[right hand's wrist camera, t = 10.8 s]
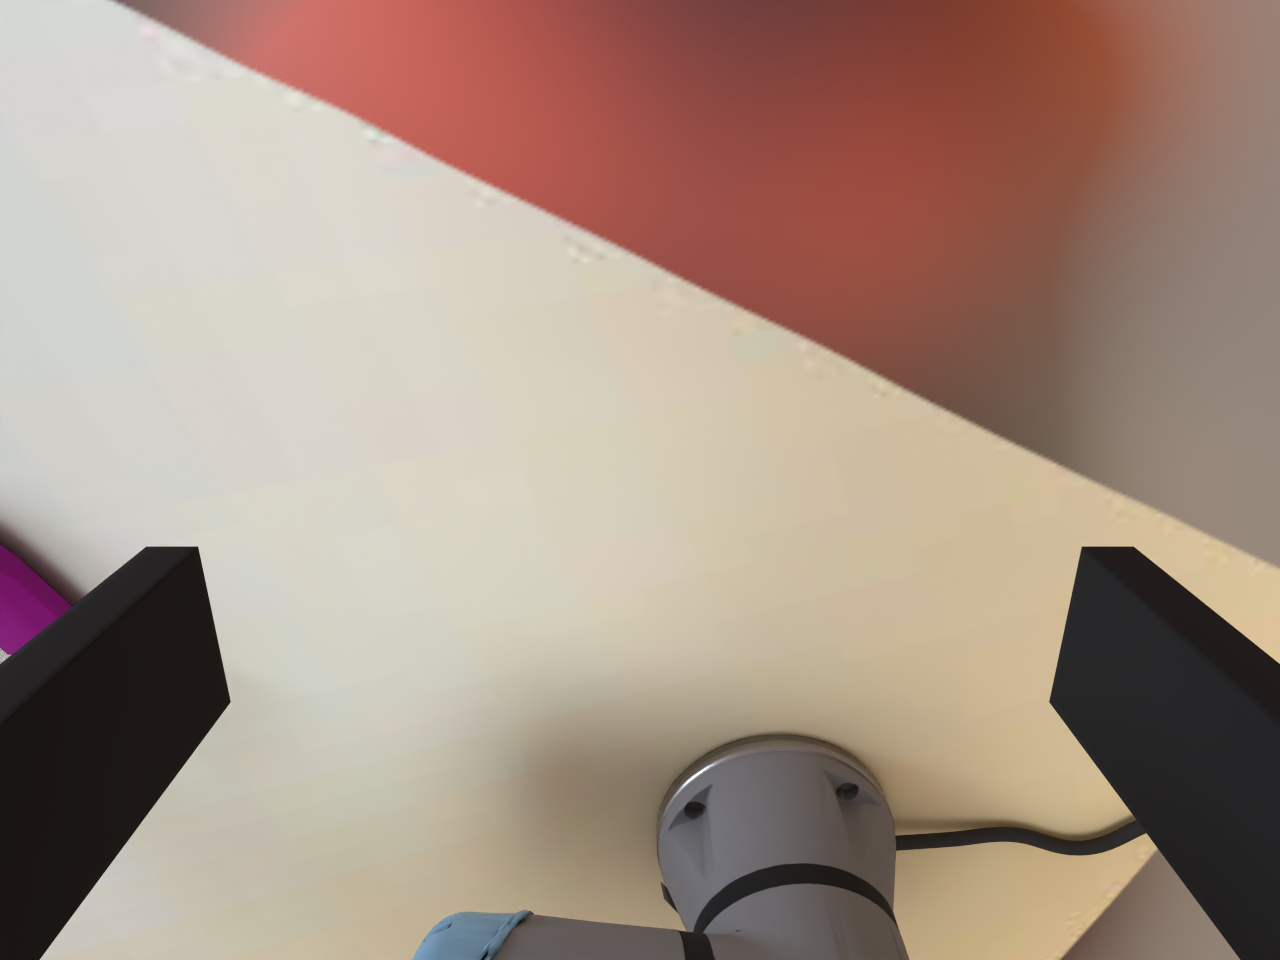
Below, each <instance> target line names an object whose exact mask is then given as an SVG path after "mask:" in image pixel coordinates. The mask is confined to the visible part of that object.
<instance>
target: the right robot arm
mask: <svg viewBox="0 0 1280 960" xmlns="http://www.w3.org/2000/svg"><path fill="white" fill-rule="evenodd" d="M230 702H231V701H230V696H229V692H228V687H227V682H226V677H225V673H224V668H223V663H222V658H221V654H220V649H219V644H218V639H217V635H216V630H215V625H214V620H213V616H212V611H211V606H210V601H209V597H208V592H207V587H206V582H205V578H204V573H203V568H202V563H201V558H200V554H199V549H198V547H145V548H144V549H143V550H142V551H140V552H139V553H138V554H137V555H135V556H134V557H133V558H132V559H130V560H129V561H128V562H127V563H126V564H124V565H123V566H122V567H121V568H119V569H118V570H117V571H116V572H114V573H113V574H112V575H111V576H109V577H108V578H107V579H106V580H104V581H103V582H102V583H101V584H99V585H98V586H97V587H96V588H94V589H93V590H92V591H91V592H89V593H88V594H87V595H86V596H84V597H83V598H82V599H81V600H79V601H78V602H77V603H76V604H74V605H73V606H72V607H71V608H69V609H68V610H67V611H66V612H65V613H63V614H62V615H61V616H60V617H58V618H57V619H56V620H55V621H53V622H52V623H51V624H50V625H48V626H47V627H46V628H45V629H43V630H42V631H41V632H40V633H38V634H37V635H36V636H35V637H33V638H32V639H31V640H30V641H28V642H27V643H26V644H25V645H23V646H22V647H21V648H20V649H18V650H17V651H16V652H15V653H13V654H12V655H11V656H10V657H8V658H7V659H6V660H5V661H3V662H2V663H1V664H0V960H40V958H41V957H42V956H43V954H44V953H45V952H46V950H47V949H48V947H49V946H50V945H51V943H52V942H53V941H54V939H55V938H56V937H57V935H58V934H59V933H60V931H61V930H62V929H63V927H64V926H65V925H66V923H67V922H68V921H69V919H70V918H71V917H72V915H73V914H74V912H75V911H76V910H77V908H78V907H79V906H80V904H81V903H82V902H83V900H84V899H85V898H86V896H87V895H88V894H89V892H90V891H91V890H92V888H93V887H94V886H95V884H96V883H97V881H98V880H99V879H100V877H101V876H102V875H103V873H104V872H105V871H106V869H107V868H108V867H109V865H110V864H111V863H112V861H113V860H114V859H115V857H116V856H117V855H118V853H119V852H120V850H121V849H122V848H123V846H124V845H125V844H126V842H127V841H128V840H129V838H130V837H131V836H132V834H133V833H134V832H135V830H136V829H137V828H138V826H139V825H140V824H141V822H142V821H143V819H144V818H145V817H146V815H147V814H148V813H149V811H150V810H151V809H152V807H153V806H154V805H155V803H156V802H157V801H158V799H159V798H160V797H161V795H162V794H163V793H164V791H165V790H166V788H167V787H168V786H169V784H170V783H171V782H172V780H173V779H174V778H175V776H176V775H177V774H178V772H179V771H180V770H181V768H182V767H183V766H184V764H185V763H186V762H187V760H188V759H189V757H190V756H191V755H192V753H193V752H194V751H195V749H196V748H197V747H198V745H199V744H200V743H201V741H202V740H203V739H204V737H205V736H206V735H207V733H208V732H209V731H210V729H211V728H212V726H213V725H214V724H215V722H216V721H217V720H218V718H219V717H220V716H221V714H222V713H223V712H224V710H225V709H226V708H227V706H228V705H229V704H230ZM1049 702H1050V704H1051V705H1052V706H1053V708H1054V709H1055V710H1056V712H1057V713H1058V714H1059V716H1060V717H1061V718H1062V720H1063V721H1064V722H1065V724H1066V725H1067V726H1068V728H1069V729H1070V731H1071V732H1072V733H1073V735H1074V736H1075V737H1076V739H1077V740H1078V741H1079V743H1080V744H1081V745H1082V747H1083V748H1084V749H1085V751H1086V752H1087V753H1088V755H1089V756H1090V757H1091V759H1092V760H1093V762H1094V763H1095V764H1096V766H1097V767H1098V768H1099V770H1100V771H1101V772H1102V774H1103V775H1104V776H1105V778H1106V779H1107V780H1108V782H1109V783H1110V784H1111V786H1112V787H1113V788H1114V790H1115V791H1116V793H1117V794H1118V795H1119V797H1120V798H1121V799H1122V801H1123V802H1124V803H1125V805H1126V806H1127V807H1128V809H1129V810H1130V811H1131V813H1132V814H1133V815H1134V817H1135V818H1136V819H1137V820H1135V821H1133V822H1131V823H1129V824H1127V825H1125V826H1123V827H1121V828H1119V829H1117V830H1115V831H1113V832H1111V833H1109V834H1107V835H1104V836H1101V837H1098V838H1095V839H1091V840H1084V841H1068V840H1062V839H1057V838H1054V837H1050V836H1047V835H1044V834H1041V833H1038V832H1034V831H1030V830H1026V829H1020V828H1011V827H991V828H980V829H972V830H964V831H955V832H944V833H930V834H915V835H900V836H895V828H894V822H893V818H892V814H891V812H890V809H889V807H888V804H887V801H886V799H885V796H884V794H883V791H882V789H881V787H880V785H879V783H878V782H877V780H876V779H875V777H874V776H873V775H872V773H871V772H870V771H869V770H868V769H867V768H866V767H865V766H864V765H863V764H862V763H861V762H859V761H858V760H857V759H856V758H854V757H853V756H851V755H850V754H849V753H847V752H845V751H843V750H842V749H840V748H838V747H835V746H833V745H831V744H828V743H825V742H822V741H819V740H816V739H812V738H807V737H801V736H793V735H766V736H757V737H751V738H747V739H743V740H739V741H735V742H732V743H729V744H727V745H724V746H722V747H720V748H717V749H715V750H713V751H711V752H710V753H708V754H706V755H704V756H703V757H701V758H700V759H698V760H697V761H695V762H694V763H693V764H692V765H690V766H689V767H688V768H687V769H686V770H685V771H684V772H683V773H682V774H681V775H680V776H679V777H678V778H677V779H676V781H675V782H674V783H673V784H672V786H671V787H670V789H669V790H668V792H667V794H666V796H665V798H664V800H663V802H662V805H661V808H660V811H659V815H658V821H657V854H658V861H659V865H660V869H661V872H662V876H663V879H664V882H665V884H666V886H667V887H666V886H665V885H664V884H663V883H662V882H661V886H662V890H663V895H664V899H665V900H666V901H667V902H668V903H669V904H670V905H671V906H672V907H673V908H674V909H675V910H676V911H677V912H678V913H679V915H680V918H681V920H682V922H683V924H684V927H685V929H686V931H687V932H685V931H679V930H672V929H662V928H652V927H641V926H631V925H621V924H610V923H600V922H591V921H582V920H574V919H566V918H557V917H549V916H540V915H534V913H532V912H531V911H527V910H523V911H520V912H518V913H516V914H509V913H481V912H460V913H456V914H453V915H451V916H448V917H446V918H445V919H443V920H442V921H440V922H439V923H438V924H437V925H436V926H435V927H433V929H432V930H431V931H430V932H429V933H428V935H427V936H426V937H425V939H424V940H423V942H422V944H421V945H420V946H419V948H418V950H417V952H416V953H415V955H414V957H413V959H412V960H909V957H908V954H907V951H906V948H905V945H904V942H903V940H902V937H901V934H900V932H899V929H898V926H897V922H896V919H895V916H894V913H893V901H894V880H895V858H896V851H897V850H911V849H926V848H940V847H953V846H963V845H971V844H979V843H987V842H1018V843H1024V844H1028V845H1032V846H1035V847H1038V848H1041V849H1045V850H1048V851H1051V852H1055V853H1060V854H1066V855H1091V854H1098V853H1102V852H1105V851H1108V850H1111V849H1114V848H1116V847H1119V846H1121V845H1123V844H1125V843H1127V842H1129V841H1131V840H1133V839H1135V838H1137V837H1139V836H1141V835H1143V834H1145V833H1147V834H1148V836H1149V837H1150V838H1151V840H1152V841H1153V842H1154V844H1155V845H1156V846H1157V848H1158V849H1159V850H1160V852H1161V853H1162V855H1163V856H1164V857H1165V859H1166V860H1167V861H1168V863H1169V864H1170V865H1171V867H1172V868H1173V869H1174V871H1175V872H1176V873H1177V875H1178V876H1179V877H1180V879H1181V880H1182V881H1183V883H1184V884H1185V886H1186V887H1187V888H1188V890H1189V891H1190V892H1191V894H1192V895H1193V896H1194V898H1195V899H1196V900H1197V902H1198V903H1199V904H1200V906H1201V907H1202V908H1203V910H1204V911H1205V912H1206V914H1207V915H1208V917H1209V918H1210V919H1211V921H1212V922H1213V923H1214V925H1215V926H1216V927H1217V929H1218V930H1219V931H1220V933H1221V934H1222V935H1223V937H1224V938H1225V939H1226V941H1227V942H1228V943H1229V945H1230V946H1231V947H1232V949H1233V950H1234V952H1235V953H1236V954H1237V955H1238V957H1239V958H1240V960H1280V664H1279V663H1278V662H1277V661H1275V660H1274V659H1273V658H1272V657H1270V656H1269V655H1268V654H1267V653H1265V652H1264V651H1263V650H1262V649H1260V648H1259V647H1258V646H1257V645H1255V644H1254V643H1253V642H1252V641H1250V640H1249V639H1248V638H1247V637H1245V636H1244V635H1243V634H1242V633H1240V632H1239V631H1238V630H1237V629H1235V628H1234V627H1233V626H1232V625H1230V624H1229V623H1228V622H1227V621H1225V620H1224V619H1223V618H1222V617H1220V616H1219V615H1218V614H1217V613H1215V612H1214V611H1213V610H1212V609H1211V608H1209V607H1208V606H1207V605H1206V604H1204V603H1203V602H1202V601H1201V600H1199V599H1198V598H1197V597H1196V596H1194V595H1193V594H1192V593H1191V592H1189V591H1188V590H1187V589H1186V588H1184V587H1183V586H1182V585H1181V584H1179V583H1178V582H1177V581H1176V580H1174V579H1173V578H1172V577H1171V576H1169V575H1168V574H1167V573H1166V572H1164V571H1163V570H1162V569H1161V568H1159V567H1158V566H1157V565H1156V564H1154V563H1153V562H1152V561H1151V560H1150V559H1148V558H1147V557H1146V556H1145V555H1143V554H1142V553H1141V552H1140V551H1138V550H1137V549H1136V548H1135V547H1082V549H1081V554H1080V558H1079V563H1078V568H1077V573H1076V578H1075V582H1074V587H1073V592H1072V597H1071V601H1070V606H1069V611H1068V616H1067V620H1066V625H1065V630H1064V635H1063V639H1062V644H1061V649H1060V654H1059V658H1058V663H1057V668H1056V673H1055V677H1054V682H1053V687H1052V692H1051V696H1050V701H1049Z"/></svg>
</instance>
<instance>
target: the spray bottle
mask: <svg viewBox="0 0 1280 960" xmlns="http://www.w3.org/2000/svg"><path fill="white" fill-rule="evenodd" d="M71 607H72V606H71V605H70V604H69V603H68V602H67V601H66V600H65V599H64V598H63V597H62V596H60V595H59V594H58V593H57V592H56V591H55V590H54V589H52V588H51V587H50V586H49V585H48V584H47V583H46V582H45V581H44V580H42V579H41V578H40V577H39V576H38V575H37V574H36V573H35V572H34V571H32V570H31V569H30V568H29V567H28V566H27V565H26V564H25V563H24V562H23V561H22V560H21V559H20V558H18V557H17V556H16V555H15V554H13V553H12V552H10V551H9V550H7V549H6V548H5V547H3V546H2V545H0V648H1V649H2V650H3V651H5V652H6V653H7V654H10V655H12V654H13V653H15V652H16V651H17V650H18V649H20V648H21V647H22V646H23V645H25V644H26V643H27V642H28V641H30V640H31V639H32V638H33V637H35V636H36V635H37V634H38V633H40V632H41V631H42V630H43V629H45V628H46V627H47V626H48V625H50V624H51V623H52V622H53V621H55V620H56V619H57V618H58V617H60V616H61V615H62V614H63V613H65V612H66V611H67V610H68V609H69V608H71Z"/></svg>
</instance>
